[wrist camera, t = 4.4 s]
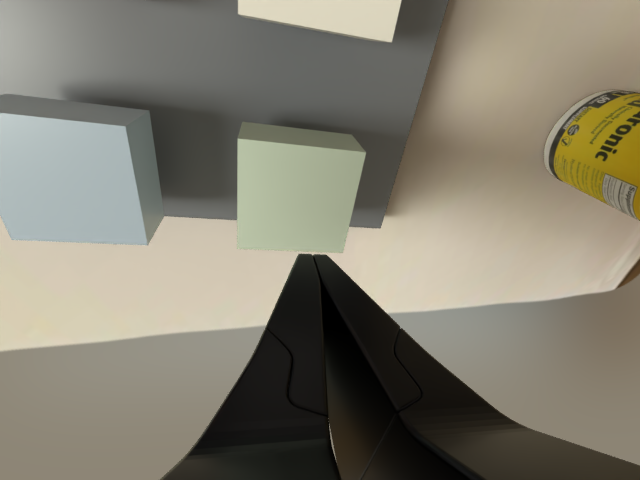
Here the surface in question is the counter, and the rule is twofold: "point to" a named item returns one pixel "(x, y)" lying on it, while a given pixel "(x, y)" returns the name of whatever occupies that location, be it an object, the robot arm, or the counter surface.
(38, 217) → the slate blue key
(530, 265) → the counter surface
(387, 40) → the cream key
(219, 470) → the robot arm
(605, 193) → the supplement bottle
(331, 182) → the sage green key
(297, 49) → the keypad base
